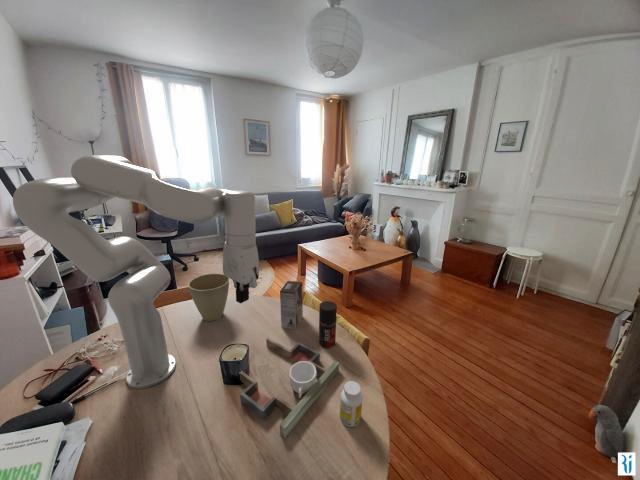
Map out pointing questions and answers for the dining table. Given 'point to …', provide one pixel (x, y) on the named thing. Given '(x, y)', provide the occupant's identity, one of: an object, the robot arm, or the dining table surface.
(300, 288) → the coffee box
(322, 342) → the deodorant
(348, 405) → the supplement bottle
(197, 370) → the dining table surface
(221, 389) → the dining table surface
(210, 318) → the plant pot
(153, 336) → the robot arm
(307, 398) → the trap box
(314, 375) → the teacup
